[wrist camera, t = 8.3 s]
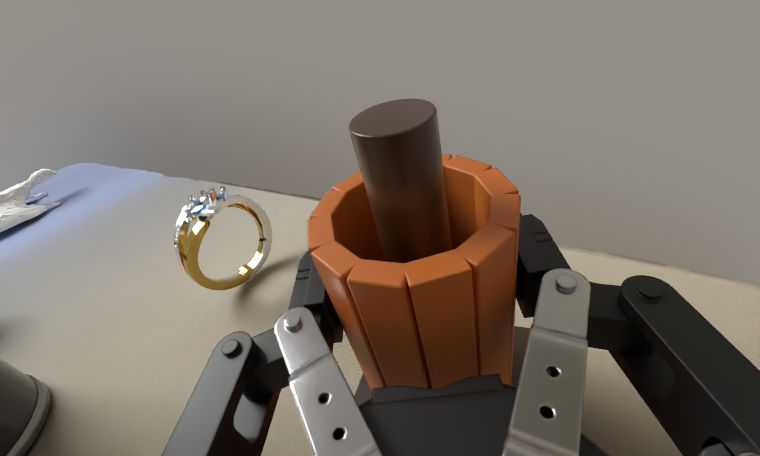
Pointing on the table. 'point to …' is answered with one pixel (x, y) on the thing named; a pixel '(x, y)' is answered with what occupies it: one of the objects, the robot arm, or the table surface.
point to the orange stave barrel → (425, 282)
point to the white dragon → (23, 200)
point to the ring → (204, 212)
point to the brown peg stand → (408, 191)
